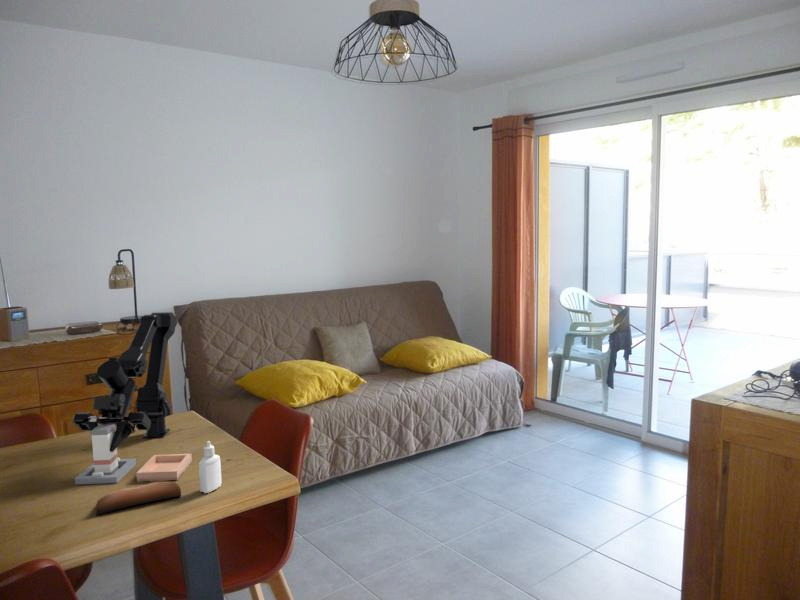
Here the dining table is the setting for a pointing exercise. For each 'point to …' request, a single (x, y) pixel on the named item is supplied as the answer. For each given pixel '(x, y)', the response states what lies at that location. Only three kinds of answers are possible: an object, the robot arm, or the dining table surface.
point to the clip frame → (98, 478)
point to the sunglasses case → (137, 496)
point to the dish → (164, 467)
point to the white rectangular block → (104, 449)
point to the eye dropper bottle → (209, 470)
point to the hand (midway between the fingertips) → (102, 451)
